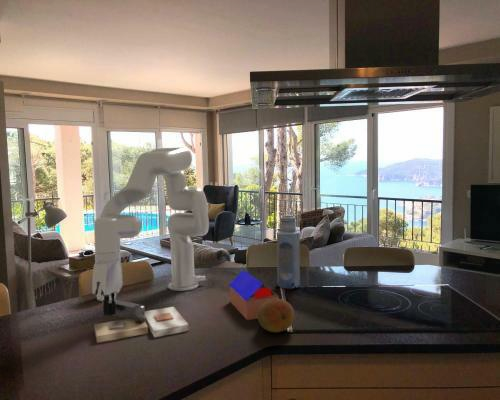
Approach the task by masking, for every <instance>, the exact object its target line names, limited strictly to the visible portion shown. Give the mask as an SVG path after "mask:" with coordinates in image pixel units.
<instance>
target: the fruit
mask: <svg viewBox="0 0 500 400" xmlns="http://www.w3.org/2000/svg"><path fill="white" fill-rule="evenodd" d="M294 319H295V312H294V307H293V306H292V305H291V303H290V302H288V301H286V300H284V299H282V298H279V299H278V298H275V299H270V300H268V301H266V302H265V303H263V304H262V306H261V307H260V309H259V313H258V318H257V320H258V324H259V325H260V326H261V327H262V329H264V330H266V331H268V332H270V333H282V332H284V331H286V330H288V329H289V328H290V327H291V326H292V324H293V323H294Z"/></svg>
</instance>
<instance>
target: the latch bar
mask: <svg viewBox="0 0 500 400" xmlns="http://www.w3.org/2000/svg"><path fill="white" fill-rule="evenodd" d="M114 302H115V314H113V315H112V316H115V317H119V318H123V319H131V320H135V323H143V322H145V311H146V309H145V305H144V304H139V303H135V302H129V301H125V300H119V299H116V301H114ZM145 323H146V322H145Z"/></svg>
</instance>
